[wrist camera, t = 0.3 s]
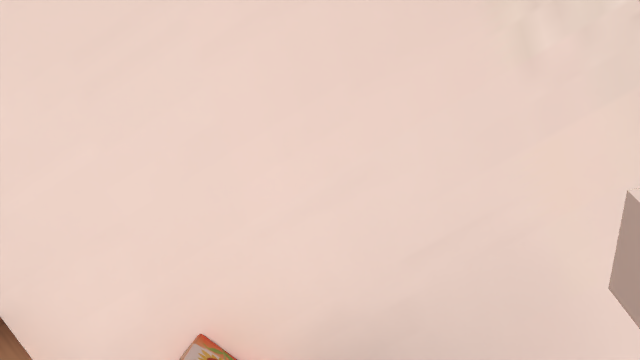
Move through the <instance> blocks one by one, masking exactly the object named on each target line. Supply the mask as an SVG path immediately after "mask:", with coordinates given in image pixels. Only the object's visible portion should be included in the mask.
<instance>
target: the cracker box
mask: <svg viewBox="0 0 640 360" xmlns="http://www.w3.org/2000/svg"><path fill="white" fill-rule="evenodd" d="M179 360H237V359H235V358H234V357H232V356H231V355H230V354H228V353H227V352H226V351H224V350H223V349H221V348H220V347H219V346H217V345H216V344H215V343H213V342H212V341H210V340H209V339H208V338H207V337H205V336H203V335H202V334H199V335H198V336H197V338H196V339H195V340H194V341H193V343H192V344H191V345H190V346H189V348H188V349H187V350H186V352H185V353H184V354H183V355H182V357H181V358H180V359H179Z"/></svg>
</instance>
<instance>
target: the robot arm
mask: <svg viewBox="0 0 640 360" xmlns="http://www.w3.org/2000/svg"><path fill="white" fill-rule="evenodd" d="M609 290H610V291H611V292H612V294H613V295H614V296H615V298H616V299H617V300H618V301H619V303H620V304H621V305H622V307H623V308H624V309H625V310H626V312H627V313H628V314H629V316H630V317H631V318H632V320H633V321H634V322H635V323H636V325H637V326H638V327H639V329H640V188H636V189H632V190H627V195H626V200H625V205H624V210H623V215H622V221H621V226H620V231H619V236H618V241H617V246H616V252H615V257H614V262H613V267H612V272H611V278H610V283H609Z"/></svg>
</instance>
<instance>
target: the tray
mask: <svg viewBox="0 0 640 360" xmlns="http://www.w3.org/2000/svg"><path fill="white" fill-rule="evenodd" d="M0 360H32V359H31V358H30V356H29V355H28V354H27V352H26V351H25V350H24V348H23V347H22V346H21V344H20V343H19V342H18V340H17V339H16V338H15V336H14V335H13V334H12V332H11V331H10V330H9V328H8V327H7V326H6V324H5V323H4V322H3V320H2V319H1V318H0Z"/></svg>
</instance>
